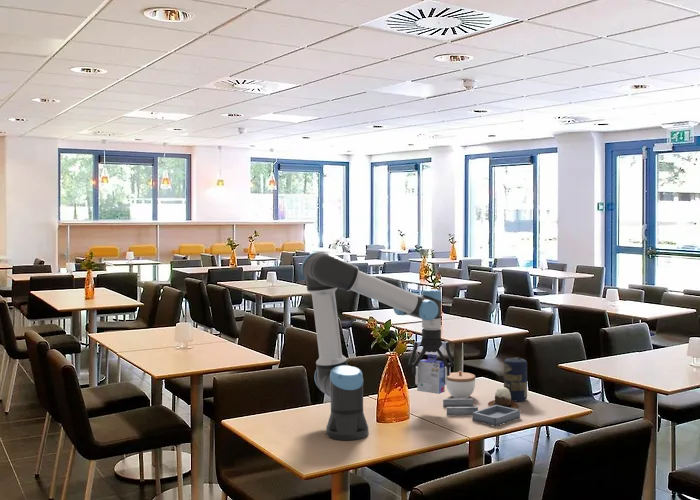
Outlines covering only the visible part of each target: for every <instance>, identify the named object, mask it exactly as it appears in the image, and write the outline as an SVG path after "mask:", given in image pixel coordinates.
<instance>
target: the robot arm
mask: <svg viewBox="0 0 700 500" xmlns="http://www.w3.org/2000/svg"><path fill="white" fill-rule="evenodd" d="M301 263H302V264H301V265H300V266H301V274H302V276H303V278H304V280H305V283H306V290H307V292H308V293H309V294H311V298H312V309H313V315H314V323H315V324H314V325H315V331H316V342H317V348H318V349H317V350H318V359H317V360H316V361H315V365H316V369H315V371H314V382H315V385H316V386H317V388H318V389H319V391H321V393H323V394H324V395H326V396H328V397H329V398H330V415H329V418H328V422H327V424H326V429H325V431H326V432H325V433H326V434H327V435H328V436H329V437H328V436H327V435H326V436H327V437H328V438H330V437H331V438H330V439H332V438H333V440H337V441H356V440H360V439H361V440H362V439H363V438H366V437H367V436H369V432H370V431H369V425H368V421H367V419H366V416H365V413H364V377H363V375H364V374H363V372H362V370H361V369H360V368H359V367H356V366H351V365H348V359H347V357H346V356H345V355H343V352H342V351H343V350H342V343H341V342H342V341H341V334H340V325H339V317H338V316H339V315H338V308H337V300H336V299H337V298H336V291H337V290H338V289H340V290H342V291H345V292H349V291H352V292H355V293H357V294H359V295H362V296H364V297H367V298H370V299H372V300H374V301H377V302H379V303H382V304H384V305H387V306H389V307H392V308H393V312H394V314H395V315H397V316H410V317H414V318H418V319H420V320H421V328H422V329H421V341H416V340H415V341H414V342H413V349H412V350H411V351H412V352H411V354H410V357H409V359H408V363H407V364H408V366H409V367H412V375H413V376H415V377H414V378H415V379H414V380H415V381H414V382H415V385H416V386H417V385H418V363H419V362H420V360H422V358H423V357H424V355H425V354H426V353H437V354H438V356H439V357H440V359H441V361H443V362H444V363H445V386H446V385H447V376H449V375H450V373H451V370H450V369H451V368H452V367H455V362H454V360H453V356H452V353H451V350H450V343H449V341H447V340H446V341H442V330H441V328H442V302H443V301H442V292H441V290H439V289H436V288H435V289H433V288H425V289H423V290H422V292H421V294H415V293H413V292H410V291H408V290H406V289H404V288H401V287H398V286H396V285H394V284H392V283H389V282H387V281H385V280H382V279H381V278H377V277H375V276H373V275H371V274H369V273H366V272H363V271H361V270H359V267H358V266H357V265H355V264H353V263H350V262H348V261H346V260H345V259H343V258H341V257H339V256H338V255H336V254H333V253H326V252H323V251H322V252H321V251H319V252H318V251H317V252H313V253H310V254H308V255H307V256H306V257H305V258H304V259H303V261H302V262H301ZM420 345H421V347H422V350H421V351H420V353H419V354H418V355H417V357H416V359H414V358H415V356H416V353H417V351H418V348H420ZM442 346H443V347H444V348H445V350H446V351H445V352H446V354H447V357H448V360H449V362H448V360H447V359H446V358H445V355H444V354H443V352H442V351H441V349H440V348H441V347H442ZM414 360H415V361H414Z"/></svg>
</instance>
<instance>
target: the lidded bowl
mask: <svg viewBox="0 0 700 500" xmlns="http://www.w3.org/2000/svg"><path fill="white" fill-rule="evenodd" d="M475 385H476V375H475V374H473V373H470V372H463V371H462V370H459V371H457V372H450V375H449V376H447V385H445V387H446V390H447V392H448V393H449V394H450V396H451V397H452V399H470V396H471V395H472V394H473V393H474V390H475V387H476V386H475Z"/></svg>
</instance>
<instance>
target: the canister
mask: <svg viewBox="0 0 700 500" xmlns="http://www.w3.org/2000/svg"><path fill="white" fill-rule="evenodd" d="M503 387H505V388H507V389H508V390H509V391H510V394H511V401H513V402H523V401H526V400H527V399H528V398H527V397H528V361H527V360H526V359H524V358H521V357H518V356H516V357H508V358H506V359H504V361H503Z"/></svg>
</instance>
